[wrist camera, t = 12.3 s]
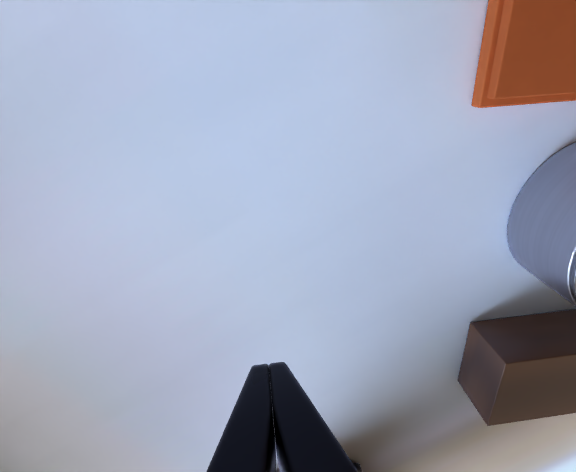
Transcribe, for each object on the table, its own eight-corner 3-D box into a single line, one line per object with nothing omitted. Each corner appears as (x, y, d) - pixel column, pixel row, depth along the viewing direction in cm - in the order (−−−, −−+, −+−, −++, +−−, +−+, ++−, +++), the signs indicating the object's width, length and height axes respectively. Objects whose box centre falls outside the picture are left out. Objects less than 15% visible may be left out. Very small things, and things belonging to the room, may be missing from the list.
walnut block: (581, 363, 22) (627, 405, 20) (457, 380, 22) (487, 426, 19) (606, 304, 20) (661, 342, 17) (469, 322, 20) (506, 363, 17)
